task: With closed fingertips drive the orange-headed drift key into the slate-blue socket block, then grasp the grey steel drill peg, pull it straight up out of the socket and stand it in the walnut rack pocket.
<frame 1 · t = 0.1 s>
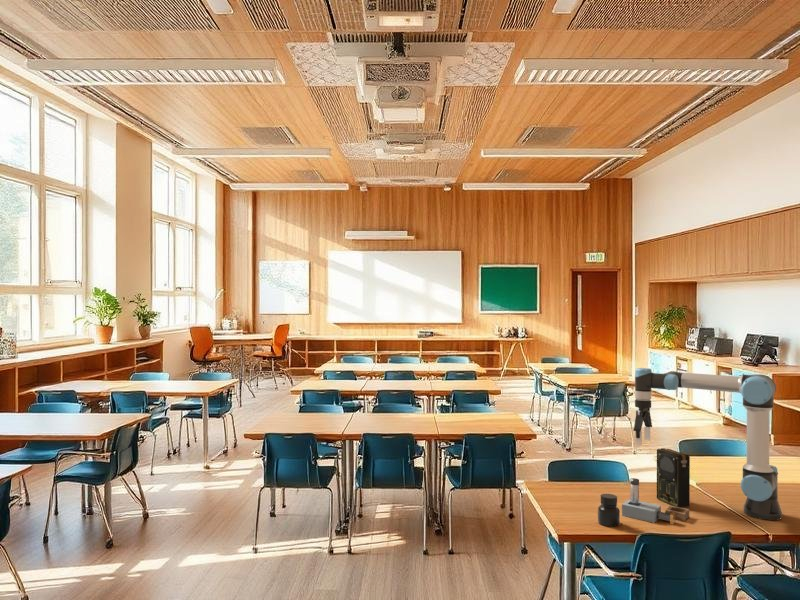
hand: (642, 442, 290), 28 cm above the table, fingers open, 13 cm apart
ink bottle: (608, 524, 256), on the table
drift key: (663, 516, 259), point 2 cm above the table, slide at 0.0 cm
drill peg: (634, 514, 267), resting in socket block
black hard drive: (672, 503, 284), on the table
rack: (677, 517, 264), on the table
socket block: (641, 516, 265), on the table
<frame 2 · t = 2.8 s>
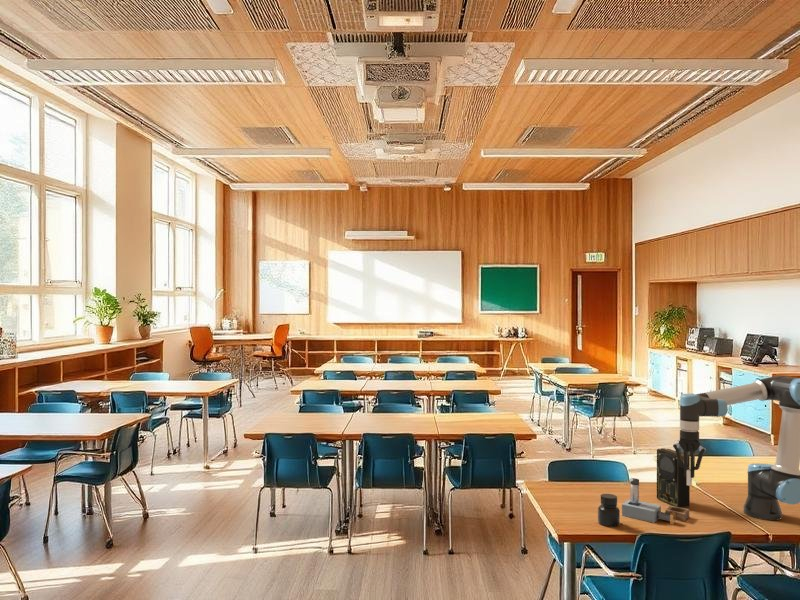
hand: (689, 484, 253), 18 cm above the table, fingers closed
nothing on the table moved.
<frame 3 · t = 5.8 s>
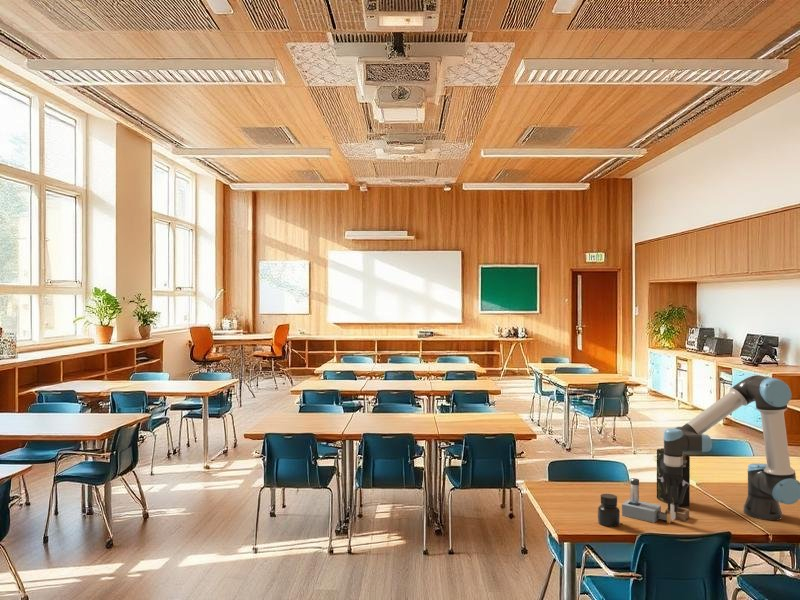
hand: (672, 518, 257), 2 cm above the table, fingers closed
drift key: (660, 515, 260), point 2 cm above the table, slide at 1.3 cm, touching gripper
everything else where it was.
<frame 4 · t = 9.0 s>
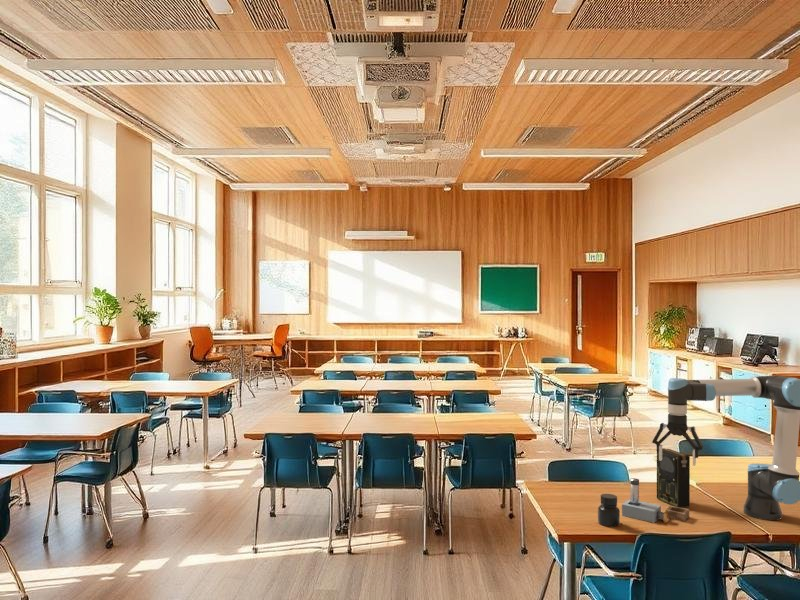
hand: (677, 462, 256), 27 cm above the table, fingers open, 13 cm apart
drift key: (657, 514, 261), point 2 cm above the table, slide at 2.7 cm
everything else where it was.
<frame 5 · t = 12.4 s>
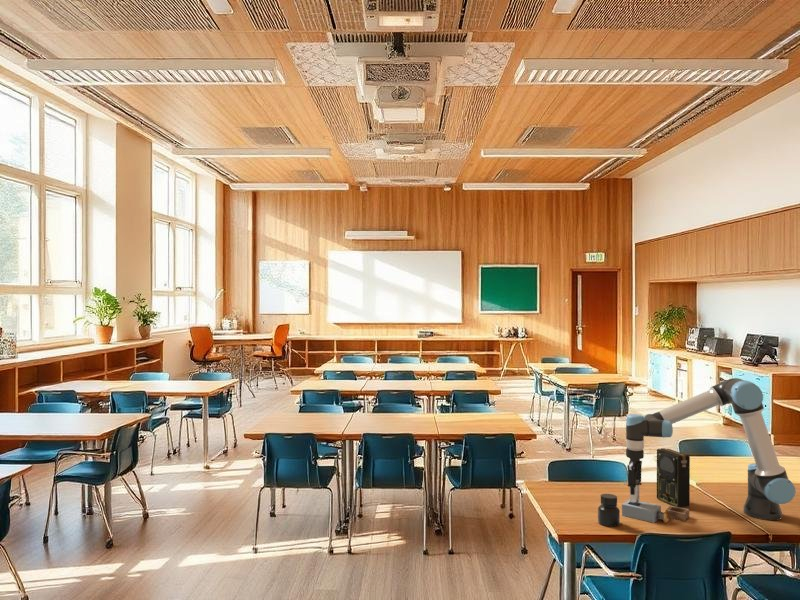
hand: (634, 500, 267), 7 cm above the table, fingers closed on drill peg, 4 cm apart
drill peg: (634, 514, 267), resting in socket block, touching gripper
everything else where it was.
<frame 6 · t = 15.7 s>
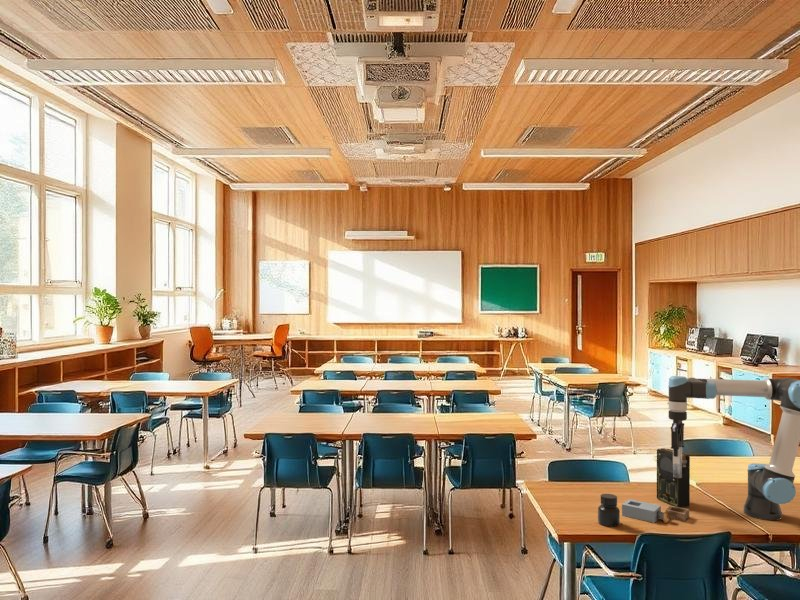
hand: (677, 462, 264), 25 cm above the table, fingers closed on drill peg, 4 cm apart
drill peg: (677, 477, 264), point 18 cm above the table, touching gripper
everything else where it was.
when the fingers open (8 cm above the table, at t = 18.8 s): drill peg drops 1 cm, resting on rack.
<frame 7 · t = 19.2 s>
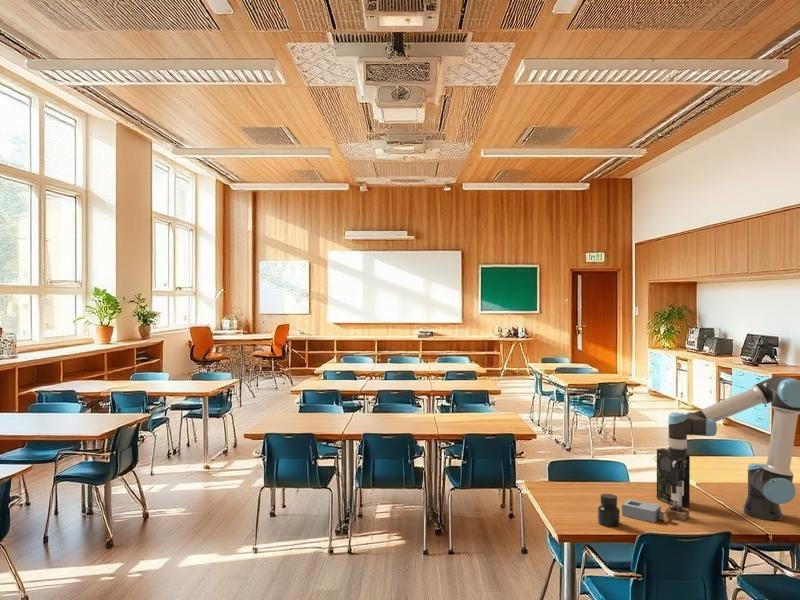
hand: (677, 497, 264), 9 cm above the table, fingers open, 9 cm apart
drill peg: (677, 516, 264), resting on rack
everything else where it was.
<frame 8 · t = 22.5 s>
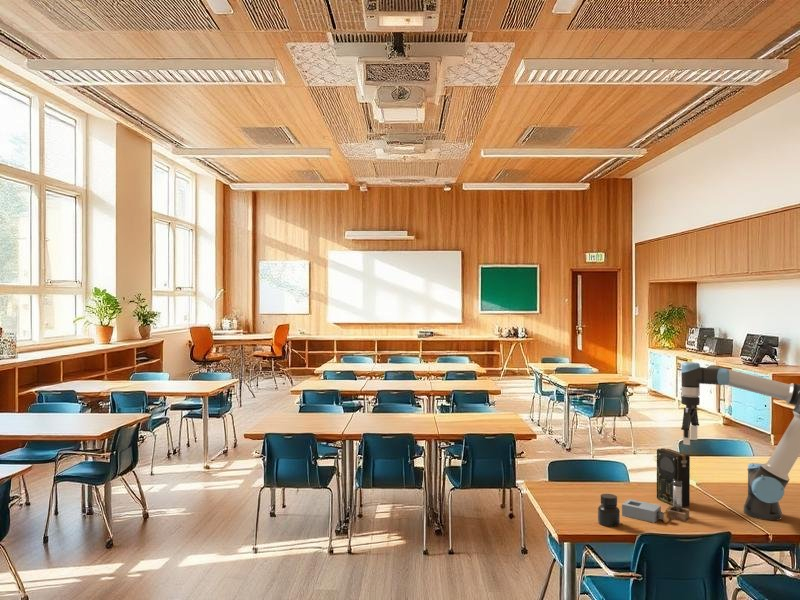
hand: (690, 442, 270), 33 cm above the table, fingers open, 13 cm apart
nothing on the table moved.
at the end: drift key slide at 2.7 cm; drill peg 0.0 cm off-centre on the rack, point 0.4 cm above the rack's base; drill peg tilted 0° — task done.
